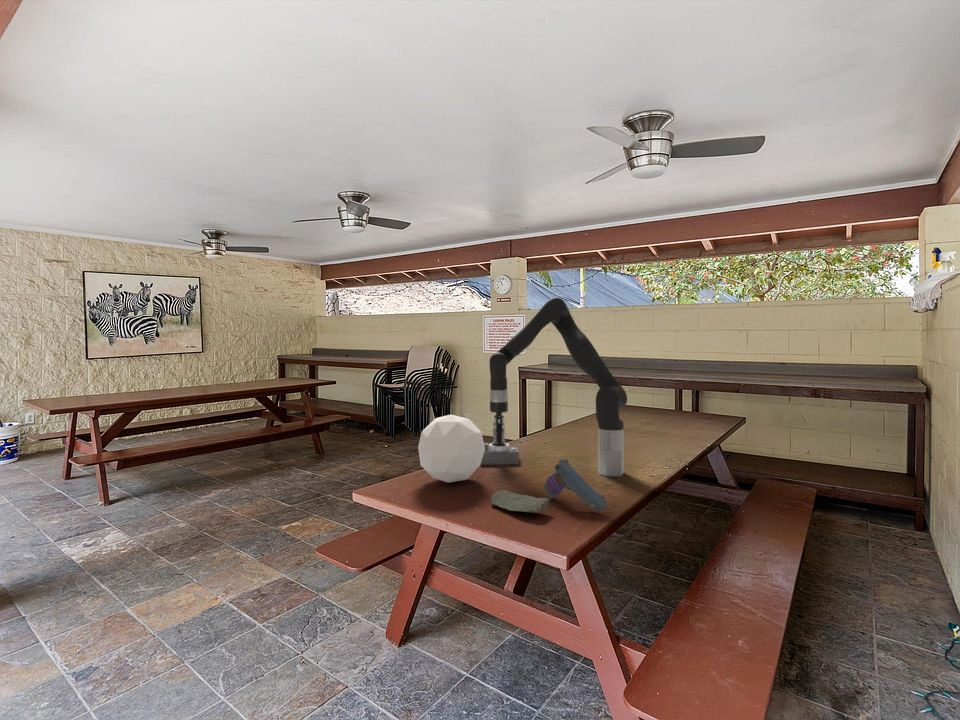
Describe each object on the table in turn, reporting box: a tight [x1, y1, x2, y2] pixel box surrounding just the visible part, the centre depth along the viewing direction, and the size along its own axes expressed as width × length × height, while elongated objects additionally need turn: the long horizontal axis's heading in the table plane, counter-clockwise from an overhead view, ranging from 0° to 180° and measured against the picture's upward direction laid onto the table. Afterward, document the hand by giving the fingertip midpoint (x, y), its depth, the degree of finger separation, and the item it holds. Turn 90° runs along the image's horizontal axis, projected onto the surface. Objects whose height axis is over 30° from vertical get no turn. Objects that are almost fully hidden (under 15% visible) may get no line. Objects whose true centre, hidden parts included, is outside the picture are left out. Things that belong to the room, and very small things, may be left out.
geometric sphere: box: [417, 414, 485, 483], centre depth 181 cm, size 24×25×25 cm
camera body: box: [480, 442, 520, 466], centre depth 209 cm, size 10×16×8 cm, turn 89°
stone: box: [490, 489, 550, 514], centre depth 154 cm, size 21×4×10 cm
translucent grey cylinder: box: [492, 421, 506, 446], centre depth 208 cm, size 5×5×10 cm
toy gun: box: [542, 458, 608, 512], centre depth 156 cm, size 4×21×15 cm
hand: (499, 440), depth 208 cm, fingers closed on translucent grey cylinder, 5 cm apart
